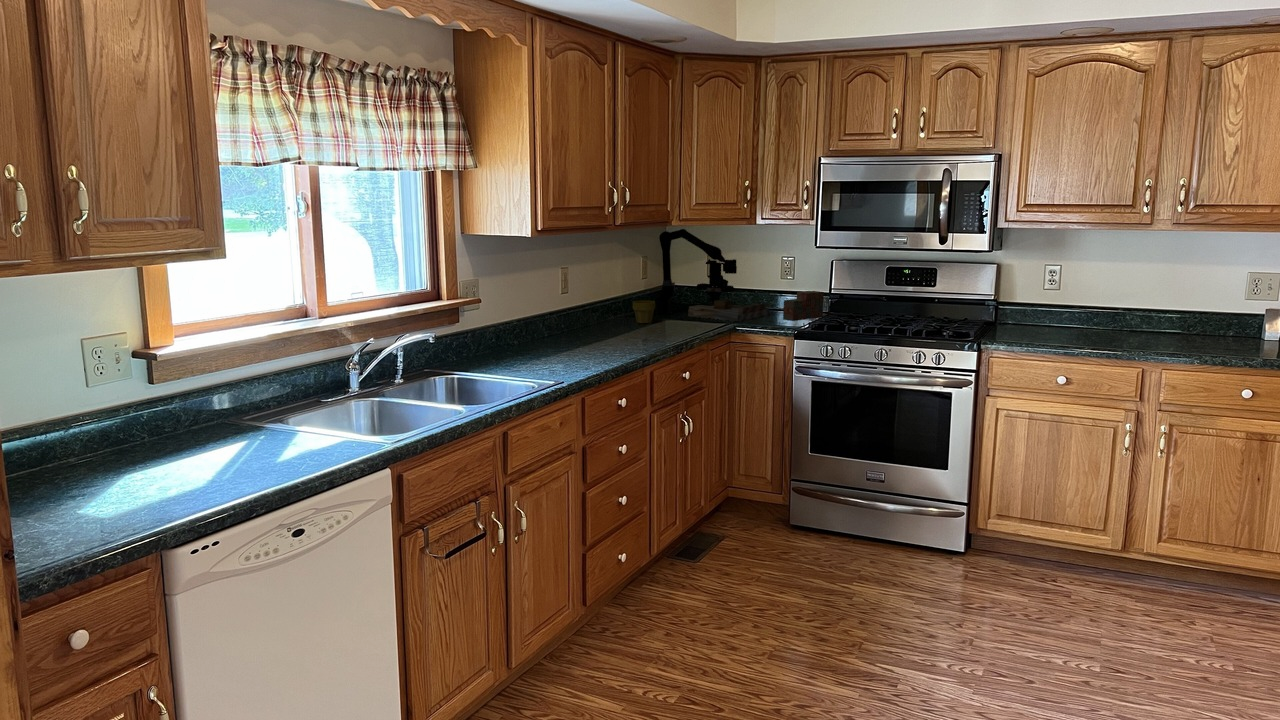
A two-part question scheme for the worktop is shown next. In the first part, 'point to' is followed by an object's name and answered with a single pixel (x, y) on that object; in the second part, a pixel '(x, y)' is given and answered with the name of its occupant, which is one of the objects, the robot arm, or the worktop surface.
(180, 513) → the worktop surface
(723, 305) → the walnut block
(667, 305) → the robot arm
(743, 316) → the trap deck
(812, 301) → the stack of blocks
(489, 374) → the worktop surface
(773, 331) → the worktop surface
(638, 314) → the plant pot
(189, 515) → the worktop surface
